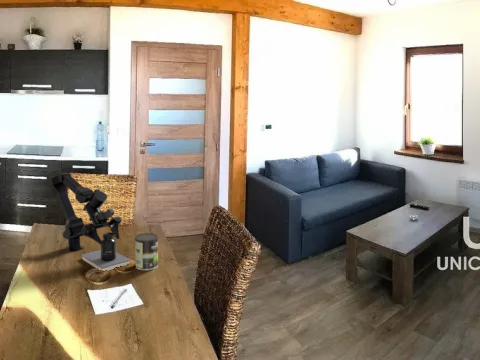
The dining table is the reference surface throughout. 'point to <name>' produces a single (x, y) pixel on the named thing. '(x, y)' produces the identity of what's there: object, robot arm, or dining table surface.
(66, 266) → the dining table surface
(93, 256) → the book
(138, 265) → the coffee can
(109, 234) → the supplement bottle
